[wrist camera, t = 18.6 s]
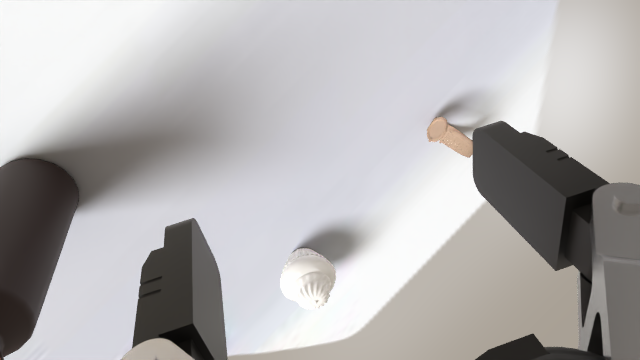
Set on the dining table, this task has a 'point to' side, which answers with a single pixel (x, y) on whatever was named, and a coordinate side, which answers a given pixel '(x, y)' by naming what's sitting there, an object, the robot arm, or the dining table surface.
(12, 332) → the vinegar
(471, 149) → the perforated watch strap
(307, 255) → the muffin
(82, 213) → the dining table surface
